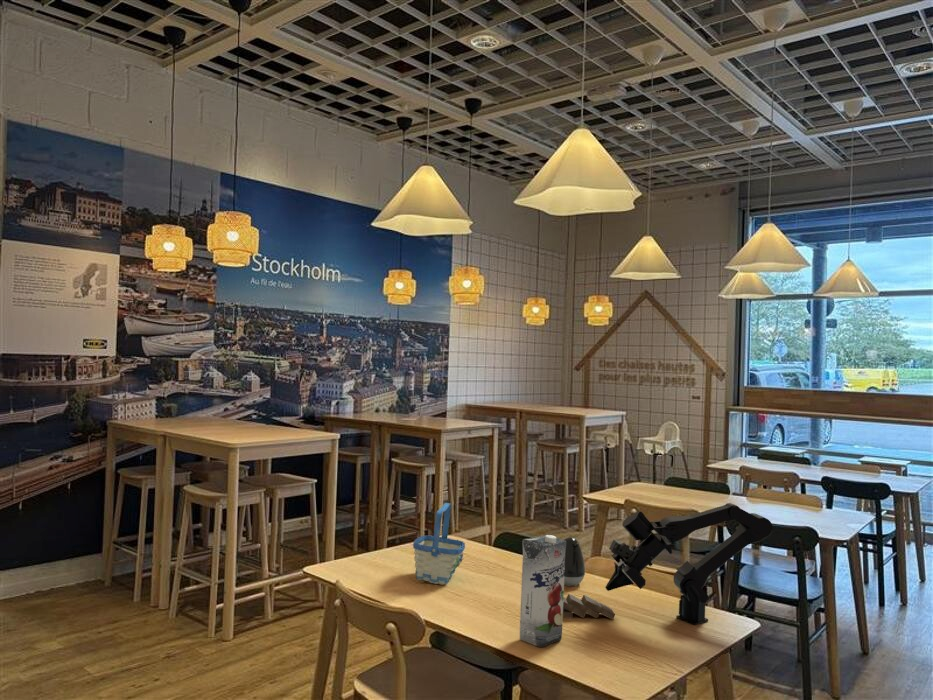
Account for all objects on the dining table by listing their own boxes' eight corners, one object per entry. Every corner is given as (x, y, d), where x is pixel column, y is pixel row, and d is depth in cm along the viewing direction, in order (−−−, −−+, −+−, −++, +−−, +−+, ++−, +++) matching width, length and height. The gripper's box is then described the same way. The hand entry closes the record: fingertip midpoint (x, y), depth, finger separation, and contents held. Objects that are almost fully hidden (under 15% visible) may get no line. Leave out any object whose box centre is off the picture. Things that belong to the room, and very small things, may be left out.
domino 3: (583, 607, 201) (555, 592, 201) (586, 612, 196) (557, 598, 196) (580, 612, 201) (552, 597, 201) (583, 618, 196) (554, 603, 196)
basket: (457, 590, 217) (461, 514, 218) (406, 585, 219) (410, 510, 220) (467, 571, 237) (470, 502, 238) (421, 567, 240) (424, 499, 241)
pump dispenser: (561, 589, 222) (563, 541, 222) (548, 579, 232) (550, 533, 232) (590, 588, 225) (592, 540, 225) (576, 578, 235) (578, 533, 235)
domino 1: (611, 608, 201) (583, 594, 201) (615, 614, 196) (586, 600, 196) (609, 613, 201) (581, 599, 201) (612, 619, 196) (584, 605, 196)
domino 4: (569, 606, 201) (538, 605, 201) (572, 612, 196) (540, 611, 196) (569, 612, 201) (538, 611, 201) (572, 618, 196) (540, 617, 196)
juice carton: (514, 639, 178) (518, 533, 179) (540, 630, 185) (544, 528, 186) (540, 650, 172) (545, 540, 173) (566, 640, 179) (570, 535, 180)
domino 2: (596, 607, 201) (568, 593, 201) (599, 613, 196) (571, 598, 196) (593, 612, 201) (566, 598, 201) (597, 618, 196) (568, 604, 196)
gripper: (619, 524, 209) (581, 559, 208) (635, 539, 190) (593, 578, 190) (644, 551, 209) (606, 587, 208) (663, 569, 190) (621, 608, 190)
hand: (606, 589), depth 199 cm, fingers closed
